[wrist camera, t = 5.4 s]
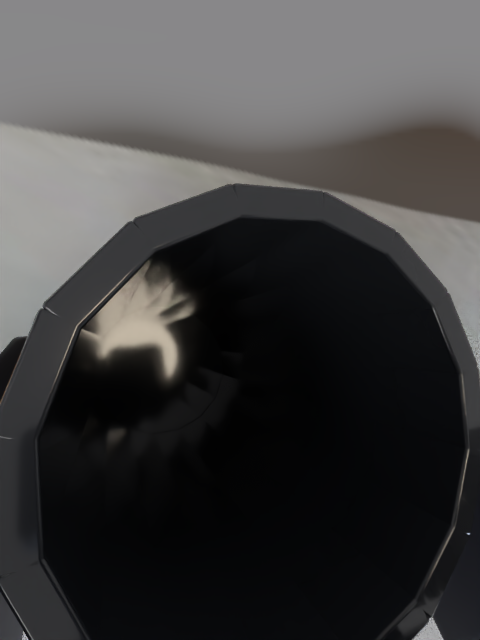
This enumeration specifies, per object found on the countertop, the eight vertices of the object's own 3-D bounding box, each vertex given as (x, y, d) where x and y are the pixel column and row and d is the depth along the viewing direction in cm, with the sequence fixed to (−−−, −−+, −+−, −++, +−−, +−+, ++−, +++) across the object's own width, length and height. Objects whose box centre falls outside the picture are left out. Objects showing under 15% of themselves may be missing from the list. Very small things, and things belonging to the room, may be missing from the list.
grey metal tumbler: (166, 466, 15) (331, 835, 4) (50, 379, 14) (-218, 552, 2) (250, 358, 17) (539, 396, 5) (154, 270, 15) (273, 80, 4)
